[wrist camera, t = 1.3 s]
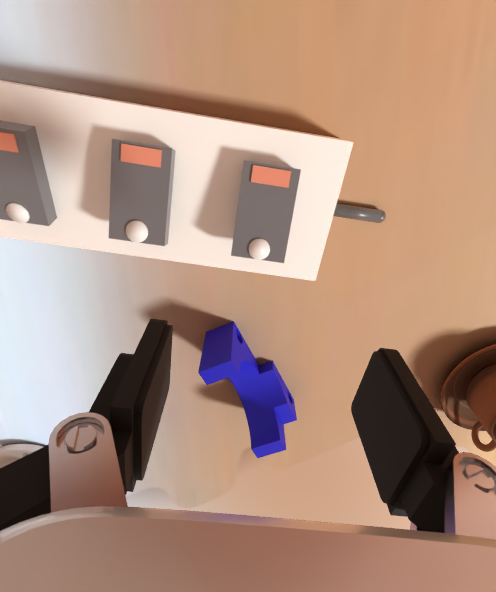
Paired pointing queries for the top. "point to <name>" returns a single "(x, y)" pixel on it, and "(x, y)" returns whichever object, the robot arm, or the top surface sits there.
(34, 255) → the top surface
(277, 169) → the grey flat block
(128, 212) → the block
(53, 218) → the grey rectangular block
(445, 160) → the top surface
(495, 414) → the cup and saucer
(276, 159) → the power strip
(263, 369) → the cable clip
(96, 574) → the robot arm
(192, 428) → the top surface
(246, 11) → the top surface
